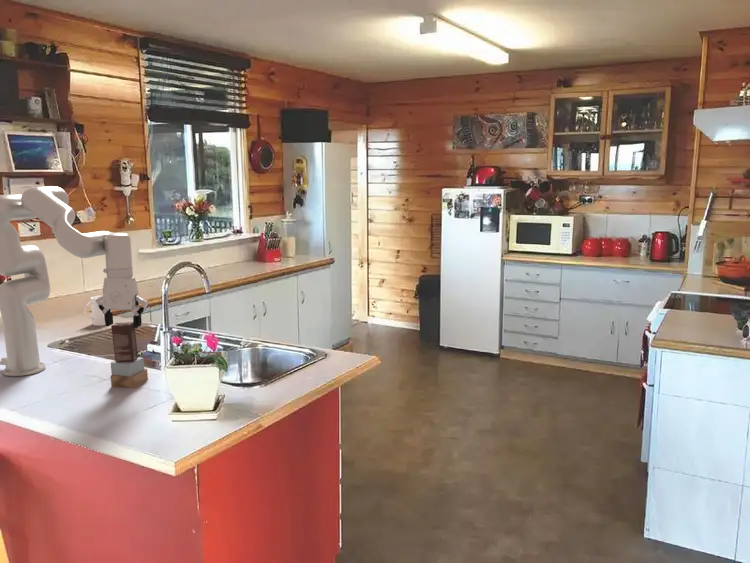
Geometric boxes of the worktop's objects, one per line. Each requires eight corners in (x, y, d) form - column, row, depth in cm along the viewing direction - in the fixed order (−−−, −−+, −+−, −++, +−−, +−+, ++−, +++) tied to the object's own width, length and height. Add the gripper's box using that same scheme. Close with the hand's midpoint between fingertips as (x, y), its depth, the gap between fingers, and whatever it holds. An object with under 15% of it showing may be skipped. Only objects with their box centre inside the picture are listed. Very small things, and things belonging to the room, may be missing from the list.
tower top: (111, 374, 200) (110, 362, 199) (126, 367, 207) (125, 356, 206) (130, 376, 198) (129, 364, 197) (144, 369, 205) (143, 357, 204)
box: (138, 357, 204) (134, 321, 201) (134, 362, 199) (130, 325, 197) (119, 358, 204) (115, 322, 201) (114, 362, 199) (110, 325, 197)
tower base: (111, 387, 200) (110, 375, 199) (125, 379, 208) (124, 367, 207) (134, 389, 198) (133, 376, 198) (148, 380, 206) (147, 368, 205)
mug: (89, 328, 272) (86, 301, 269) (81, 324, 278) (79, 298, 275) (116, 323, 280) (114, 296, 277) (108, 319, 286) (106, 294, 283)
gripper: (87, 274, 194) (91, 327, 197) (138, 276, 191) (142, 331, 194) (101, 269, 201) (105, 321, 205) (151, 272, 198) (154, 324, 202)
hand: (123, 326), depth 200 cm, fingers open, 9 cm apart
